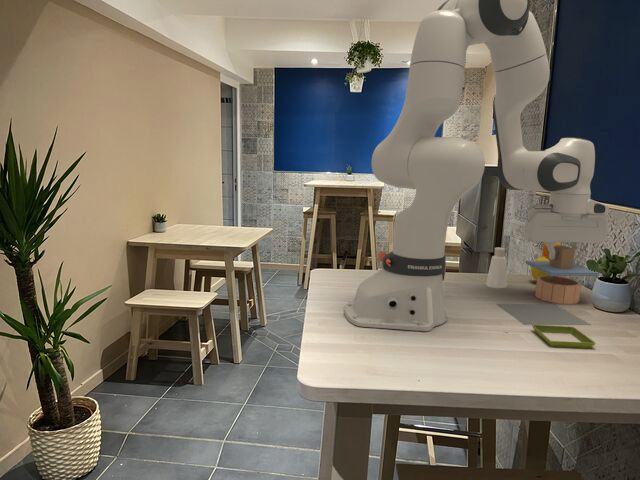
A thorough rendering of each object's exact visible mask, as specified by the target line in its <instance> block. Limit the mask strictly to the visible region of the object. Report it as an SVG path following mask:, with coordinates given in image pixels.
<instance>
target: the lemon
mask: <svg viewBox="0 0 640 480" xmlns="http://www.w3.org/2000/svg"><path fill="white" fill-rule="evenodd" d="M534 261H549V260H548V259H547V258H545V257H544V256H543V255H542V256H540V257H537V258H536V259H535V260H534ZM530 267H531V268H530V272H531V276H532V278H533V279H534V281H537V277H538V276H543V275H548V274H546V273H544V272H542V271H540V270H538V269H536V268H534V267H532V266H530Z"/></svg>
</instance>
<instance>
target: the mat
mask: <svg viewBox="0 0 640 480" xmlns="http://www.w3.org/2000/svg"><path fill="white" fill-rule="evenodd" d="M496 306H498V307H499V308H501V310H503V311H504V312H505V313H507V314H509V315H510V316H512V317H513V318H514V319H516V320H517V321H519V322H520V323H521V324H523V325H528V326H529V325H530V326H532V325H549V326H592V324H591V323H589V322H587V321H586V320H583V319H582V318H580V317H578V316H577V315H575V314H573V313H571V312H570V311H567V310H566V309H564V308H563V307H560V306H559V305H558V304H556V303H496Z"/></svg>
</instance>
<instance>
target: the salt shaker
mask: <svg viewBox="0 0 640 480" xmlns="http://www.w3.org/2000/svg"><path fill="white" fill-rule="evenodd" d="M505 254H506V248H504V247H499V246H498V247H494V255H492V256H491V259H490V265H489V268H488V269H489V270H488V272H487V273H488V275H487V278H486V283H485V286H486V287H487V288H492V289H493V288H494V289H505V288H508V287H507V276H508V275H507V257H506V256H505Z"/></svg>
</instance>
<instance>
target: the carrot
mask: <svg viewBox="0 0 640 480" xmlns="http://www.w3.org/2000/svg"><path fill="white" fill-rule="evenodd" d="M556 245H563V244H562V242H556ZM542 256H544V257H545V258H547V259H548V260H549V261H550V259H549V250H548V248H547V246H546V242H543V245H542Z"/></svg>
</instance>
